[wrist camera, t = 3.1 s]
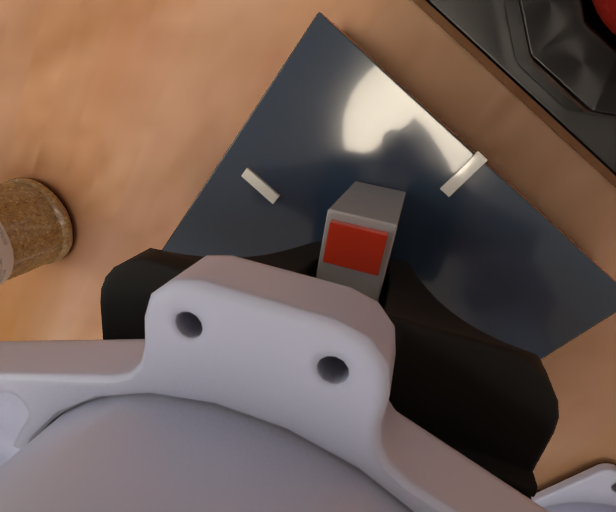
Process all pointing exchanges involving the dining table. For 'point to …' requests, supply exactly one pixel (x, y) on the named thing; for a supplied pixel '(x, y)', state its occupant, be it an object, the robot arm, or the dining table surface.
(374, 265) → the tap lever
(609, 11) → the red button
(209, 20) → the dining table surface
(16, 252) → the spice jar
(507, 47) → the button box
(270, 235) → the base
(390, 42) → the dining table surface
